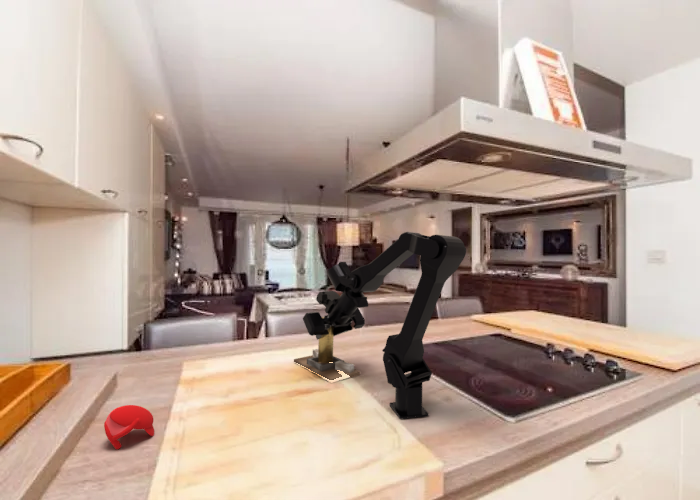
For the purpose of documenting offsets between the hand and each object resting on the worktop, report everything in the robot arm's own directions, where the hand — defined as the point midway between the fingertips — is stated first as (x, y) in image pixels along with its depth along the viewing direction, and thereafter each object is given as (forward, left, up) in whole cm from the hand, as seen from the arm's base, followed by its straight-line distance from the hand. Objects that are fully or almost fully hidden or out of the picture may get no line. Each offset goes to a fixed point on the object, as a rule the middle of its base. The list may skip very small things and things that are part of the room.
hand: (323, 337), depth 94 cm
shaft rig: (-1, -1, -9) cm, 9 cm away
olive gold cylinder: (-1, -1, -7) cm, 7 cm away
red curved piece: (-30, +39, -9) cm, 50 cm away
